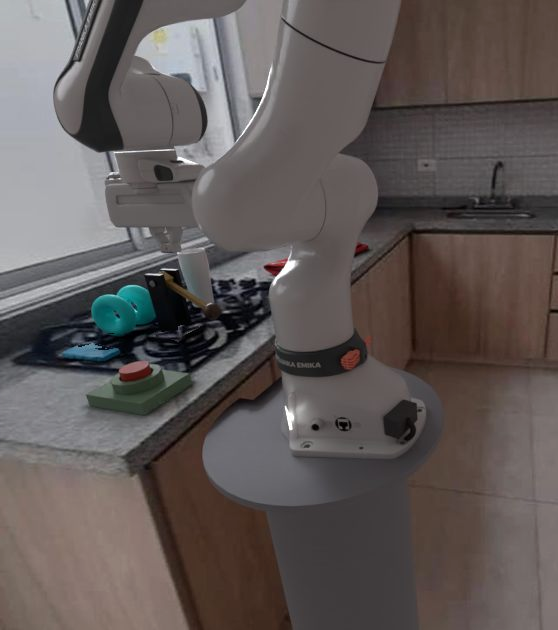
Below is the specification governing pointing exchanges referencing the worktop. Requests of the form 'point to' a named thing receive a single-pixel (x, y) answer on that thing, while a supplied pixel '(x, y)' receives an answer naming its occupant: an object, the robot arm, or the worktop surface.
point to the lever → (193, 298)
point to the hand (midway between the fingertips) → (171, 252)
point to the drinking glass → (196, 273)
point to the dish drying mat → (279, 265)
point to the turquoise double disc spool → (123, 310)
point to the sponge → (90, 353)
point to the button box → (140, 391)
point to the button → (135, 371)
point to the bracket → (168, 305)
